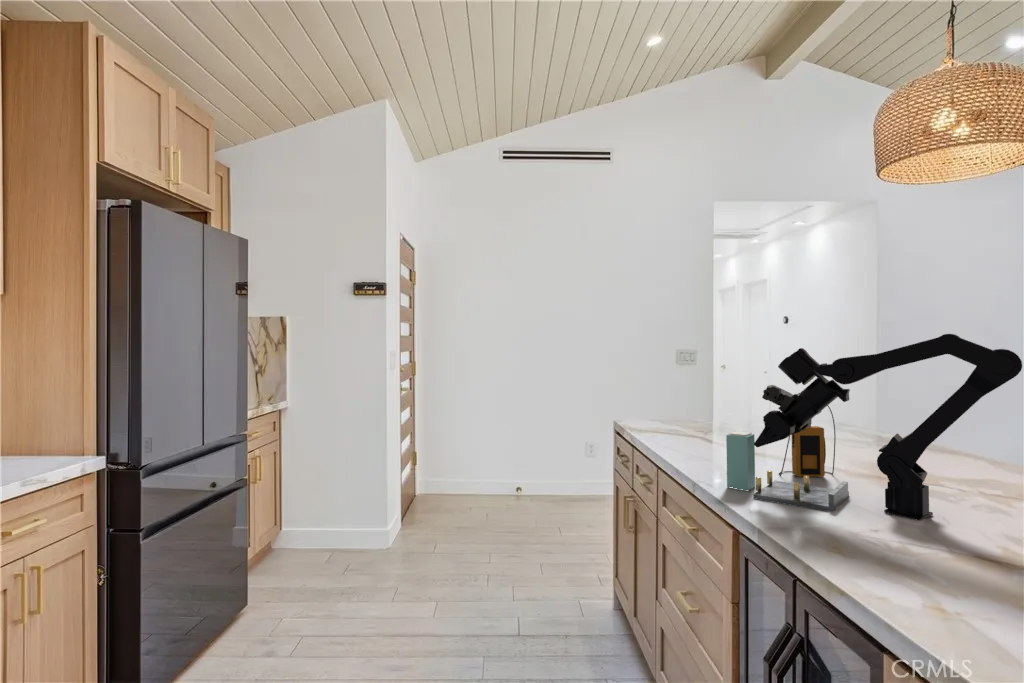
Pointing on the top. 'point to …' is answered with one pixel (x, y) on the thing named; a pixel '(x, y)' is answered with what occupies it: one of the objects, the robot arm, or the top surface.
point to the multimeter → (809, 452)
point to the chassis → (802, 493)
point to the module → (740, 460)
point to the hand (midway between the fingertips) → (762, 442)
